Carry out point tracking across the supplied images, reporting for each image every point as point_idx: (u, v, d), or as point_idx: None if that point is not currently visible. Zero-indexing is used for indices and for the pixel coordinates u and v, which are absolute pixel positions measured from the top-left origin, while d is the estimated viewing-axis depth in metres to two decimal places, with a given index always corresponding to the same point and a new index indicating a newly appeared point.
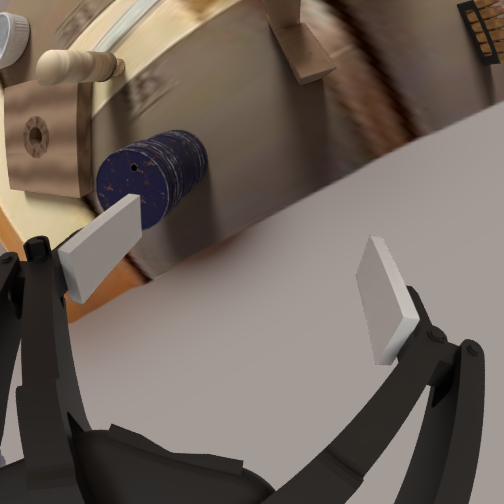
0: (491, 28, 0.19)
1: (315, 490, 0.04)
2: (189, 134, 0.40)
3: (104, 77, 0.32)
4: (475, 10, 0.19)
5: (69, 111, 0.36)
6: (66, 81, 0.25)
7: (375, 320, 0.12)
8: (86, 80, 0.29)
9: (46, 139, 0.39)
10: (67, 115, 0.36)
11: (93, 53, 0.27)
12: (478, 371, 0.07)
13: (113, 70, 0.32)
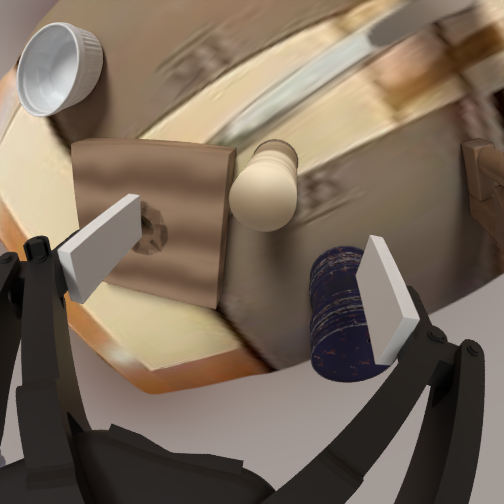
0: None
1: (315, 490, 0.04)
2: None
3: None
4: None
5: (209, 209, 0.34)
6: None
7: (375, 320, 0.12)
8: None
9: (163, 235, 0.37)
10: (206, 213, 0.34)
11: (290, 156, 0.25)
12: (478, 372, 0.07)
13: None
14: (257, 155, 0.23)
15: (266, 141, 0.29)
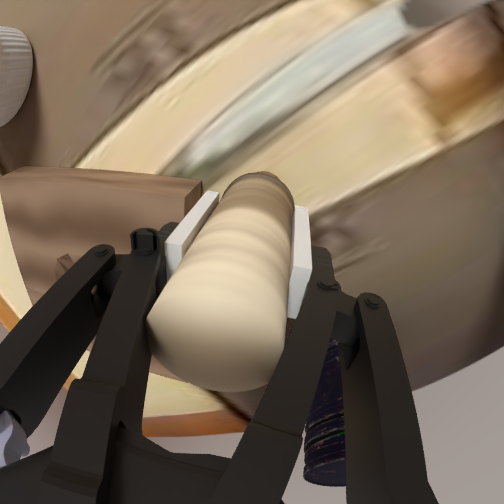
0: None
1: (259, 462, 0.05)
2: None
3: None
4: None
5: None
6: None
7: None
8: None
9: None
10: None
11: (279, 215, 0.14)
12: (384, 323, 0.09)
13: None
14: (214, 222, 0.12)
15: (242, 177, 0.18)
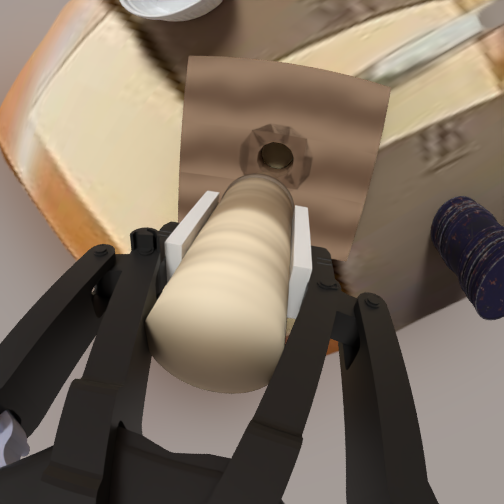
0: None
1: (259, 462, 0.05)
2: None
3: None
4: None
5: (365, 140, 0.28)
6: None
7: None
8: None
9: (304, 169, 0.31)
10: (361, 145, 0.29)
11: (279, 216, 0.14)
12: (384, 323, 0.09)
13: None
14: (214, 223, 0.12)
15: (242, 177, 0.18)
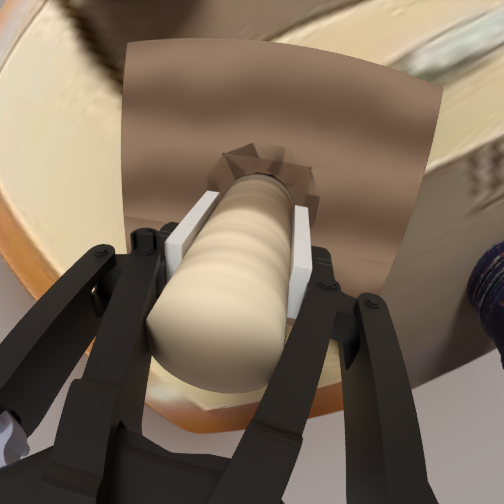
0: None
1: (259, 462, 0.05)
2: None
3: None
4: None
5: (402, 171, 0.18)
6: None
7: None
8: None
9: None
10: (395, 179, 0.18)
11: (279, 216, 0.14)
12: (385, 323, 0.09)
13: None
14: (214, 223, 0.12)
15: (242, 177, 0.18)
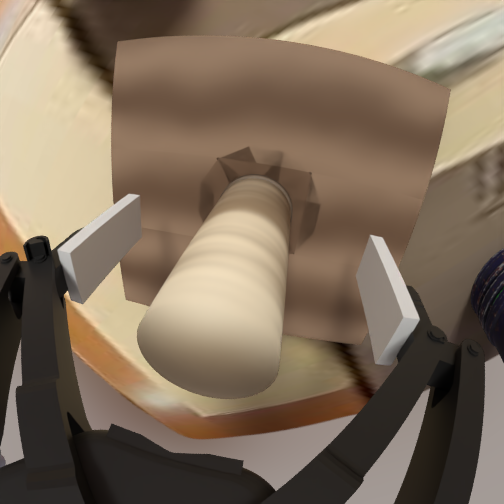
0: None
1: (315, 490, 0.04)
2: None
3: None
4: None
5: (407, 176, 0.17)
6: None
7: (375, 320, 0.12)
8: None
9: (306, 223, 0.19)
10: (400, 185, 0.17)
11: (276, 217, 0.14)
12: (478, 371, 0.07)
13: None
14: (209, 225, 0.12)
15: (239, 178, 0.18)
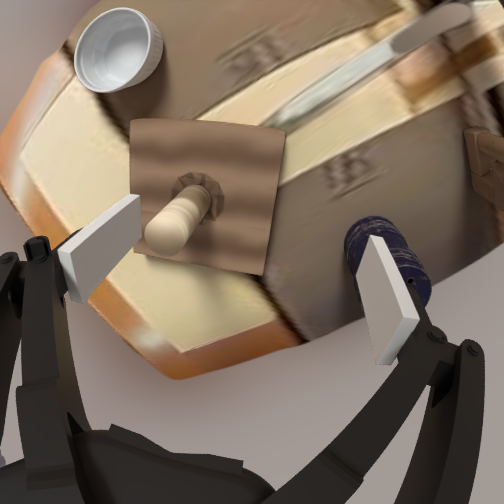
0: None
1: (315, 490, 0.04)
2: (390, 223, 0.43)
3: None
4: None
5: (265, 179, 0.39)
6: None
7: (375, 320, 0.12)
8: None
9: (219, 205, 0.42)
10: (262, 184, 0.39)
11: (196, 200, 0.36)
12: (478, 371, 0.07)
13: (209, 208, 0.41)
14: (169, 203, 0.34)
15: (187, 186, 0.40)
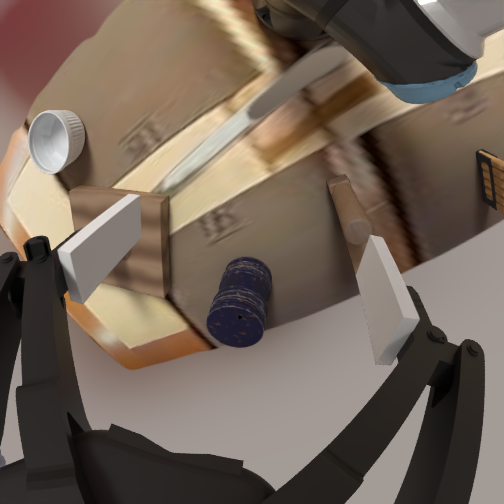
0: (497, 185, 0.36)
1: (315, 490, 0.04)
2: (259, 262, 0.57)
3: None
4: (489, 166, 0.37)
5: (152, 234, 0.54)
6: None
7: (375, 320, 0.12)
8: None
9: None
10: (151, 237, 0.54)
11: None
12: (478, 372, 0.07)
13: None
14: None
15: None
